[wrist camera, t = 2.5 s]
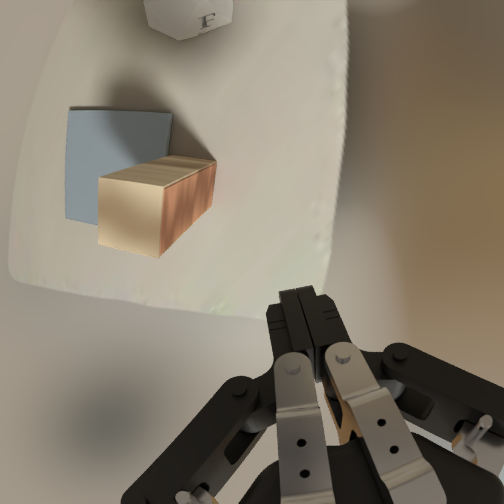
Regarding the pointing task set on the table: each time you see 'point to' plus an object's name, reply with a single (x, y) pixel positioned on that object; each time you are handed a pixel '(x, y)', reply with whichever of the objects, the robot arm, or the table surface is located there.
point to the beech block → (153, 203)
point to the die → (187, 16)
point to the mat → (107, 152)
